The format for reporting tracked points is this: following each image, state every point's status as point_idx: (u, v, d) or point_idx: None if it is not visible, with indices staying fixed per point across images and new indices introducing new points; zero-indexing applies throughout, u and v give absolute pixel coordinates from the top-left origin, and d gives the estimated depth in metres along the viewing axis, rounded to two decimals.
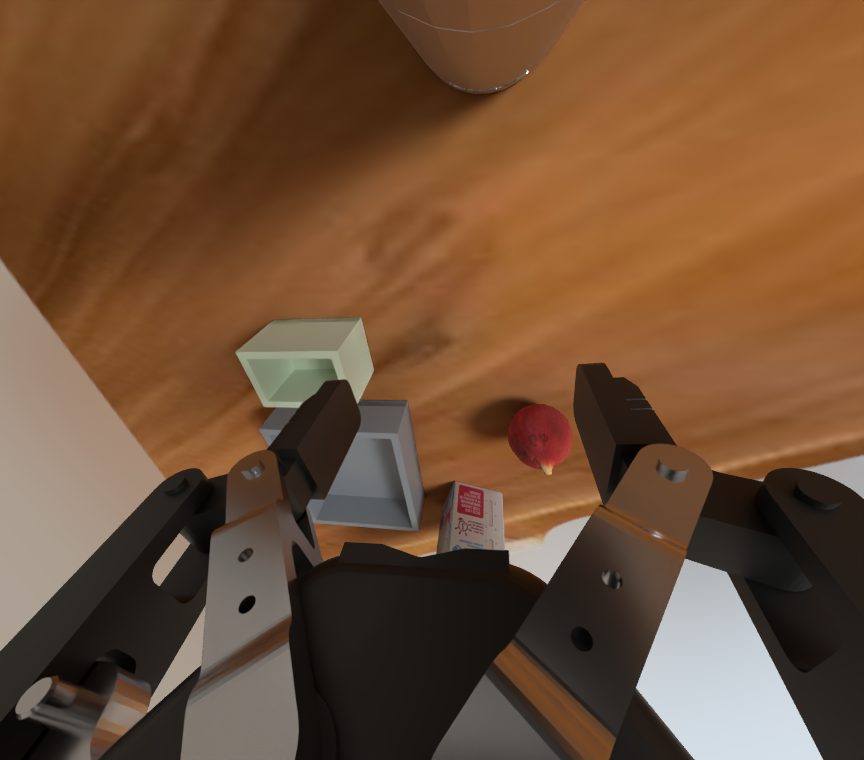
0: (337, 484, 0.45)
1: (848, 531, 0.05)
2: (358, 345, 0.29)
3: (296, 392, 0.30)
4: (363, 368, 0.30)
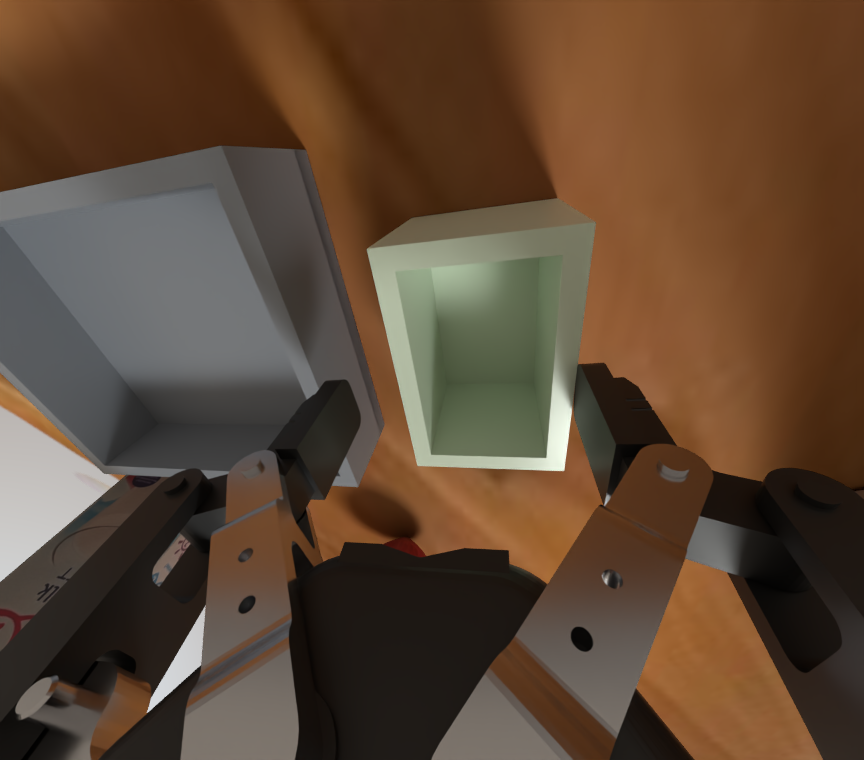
0: (71, 266, 0.17)
1: (848, 531, 0.05)
2: None
3: (416, 321, 0.12)
4: None
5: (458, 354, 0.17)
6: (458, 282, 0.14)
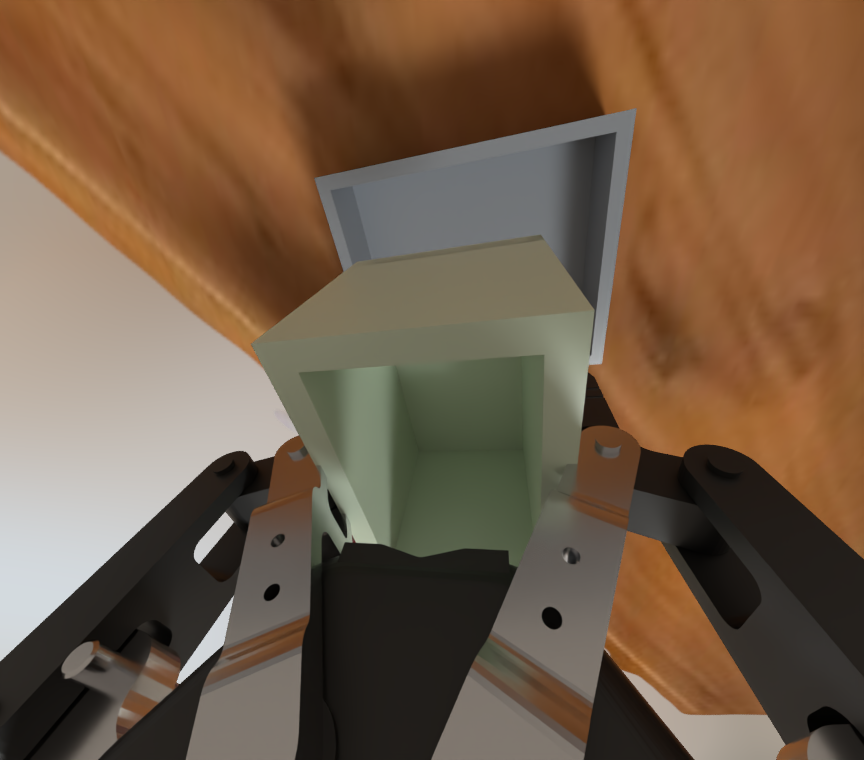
0: (392, 214, 0.24)
1: (752, 495, 0.05)
2: None
3: (354, 413, 0.09)
4: None
5: (429, 419, 0.13)
6: None
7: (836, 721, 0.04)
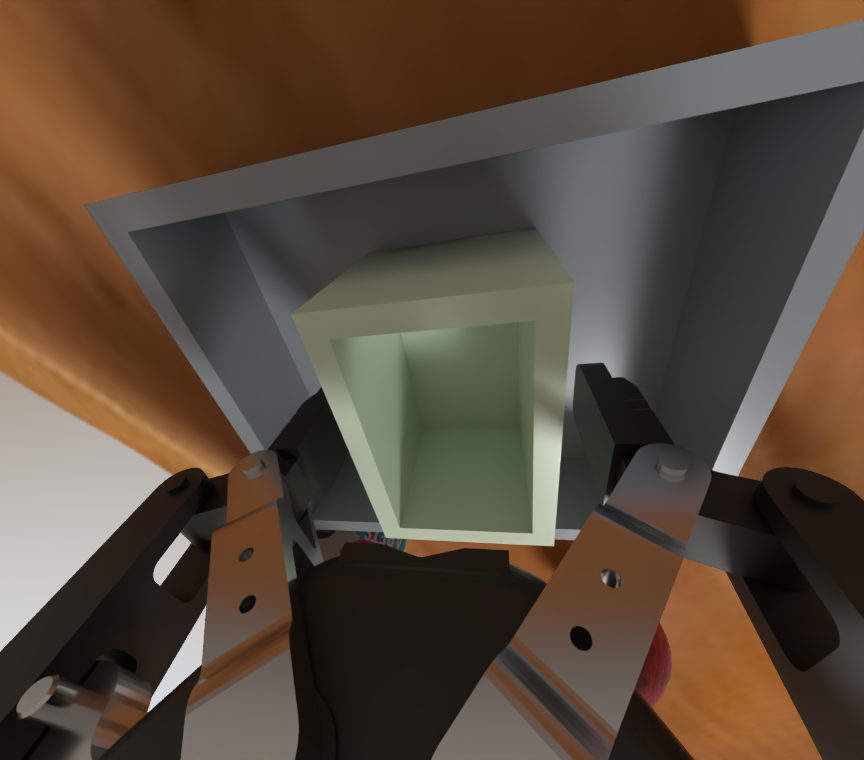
0: (306, 264, 0.13)
1: (846, 530, 0.05)
2: None
3: (370, 382, 0.10)
4: None
5: (434, 398, 0.15)
6: None
7: None
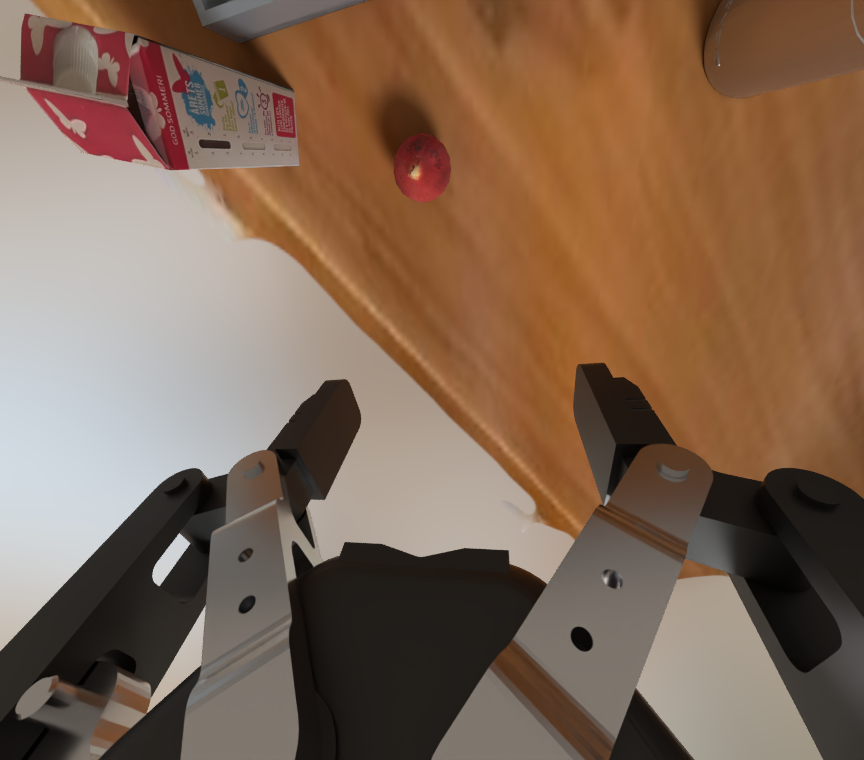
0: None
1: (848, 531, 0.05)
2: None
3: None
4: None
5: None
6: None
7: None
